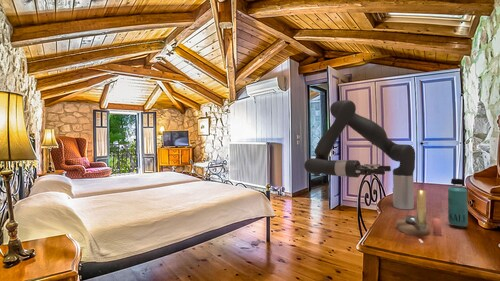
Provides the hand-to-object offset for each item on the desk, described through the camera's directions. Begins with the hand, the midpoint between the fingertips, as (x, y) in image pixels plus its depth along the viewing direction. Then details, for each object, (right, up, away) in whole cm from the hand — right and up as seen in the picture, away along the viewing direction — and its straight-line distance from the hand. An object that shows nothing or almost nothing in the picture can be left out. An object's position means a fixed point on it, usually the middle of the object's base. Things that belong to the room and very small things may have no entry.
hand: (387, 170), depth 102 cm
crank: (+9, -21, -4) cm, 23 cm away
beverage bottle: (+30, -24, +2) cm, 38 cm away
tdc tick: (+6, -24, -11) cm, 27 cm away
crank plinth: (+10, -24, 0) cm, 26 cm away
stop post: (+16, -24, -5) cm, 30 cm away
